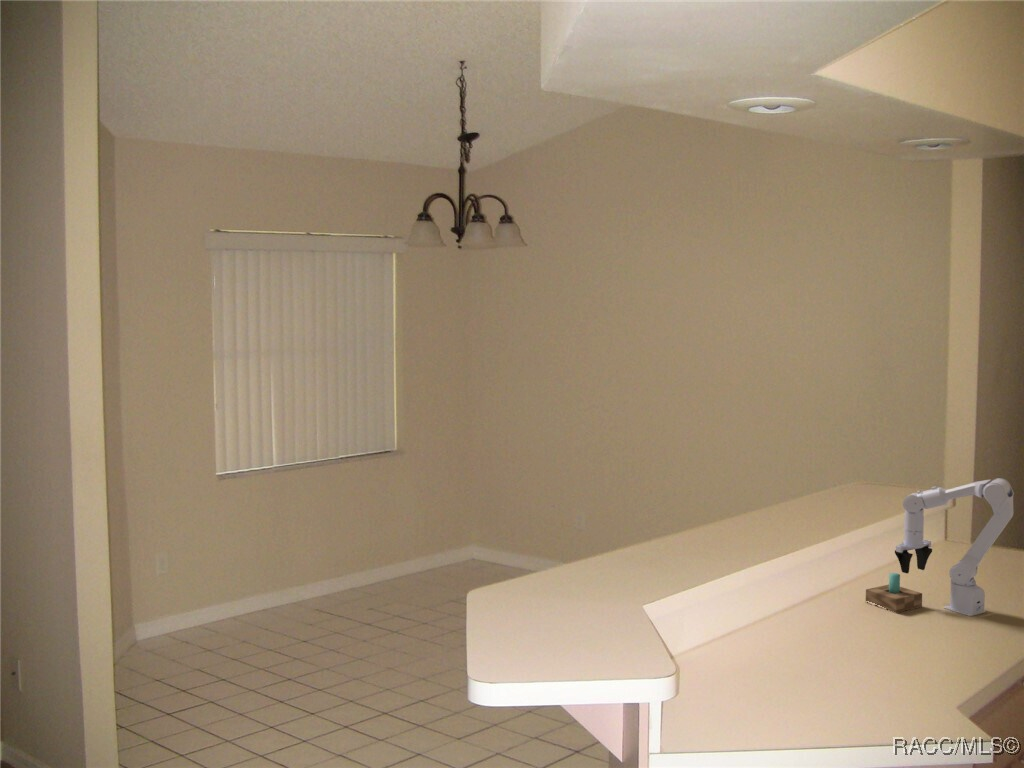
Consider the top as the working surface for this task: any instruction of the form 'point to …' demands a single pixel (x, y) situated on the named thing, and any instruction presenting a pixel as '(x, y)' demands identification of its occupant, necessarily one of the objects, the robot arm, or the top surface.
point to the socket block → (894, 598)
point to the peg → (894, 583)
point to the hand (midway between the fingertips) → (913, 571)
